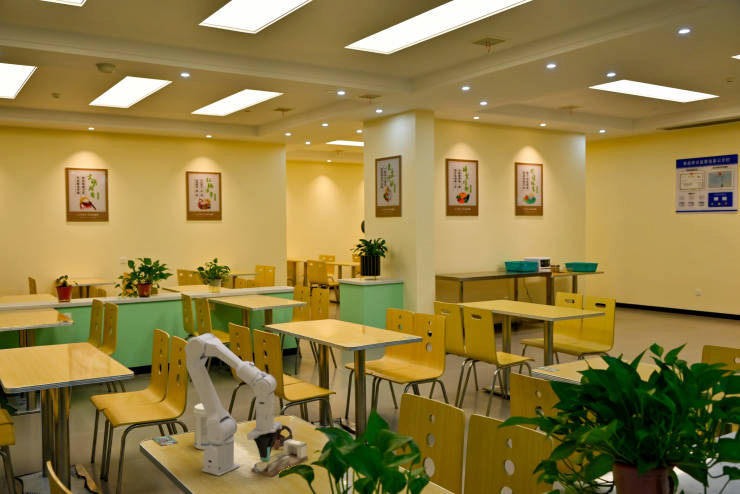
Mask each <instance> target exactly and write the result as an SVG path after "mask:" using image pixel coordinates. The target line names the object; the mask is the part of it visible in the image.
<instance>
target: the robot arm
mask: <svg viewBox="0 0 740 494" xmlns="http://www.w3.org/2000/svg"><path fill="white" fill-rule="evenodd" d="M184 352H185V354H186V356H185V367H186V369H187V370H186V371H188V375H189V376H190V379H191V381H192V383H193V385H194V388H195V390H196V393H197V395H198V397H199V399H200V402H201V403H202V405H203V407H204V410H205V412H206V414H207V421H206V427H207V436H208V439H209V440H210V441H211V443H210V445H209V446H207V447H206V448H205V450H203V457H202V458H203V468H202V469H201V472H204V473H209V474H211V475H215V476H222V475H224V474H226V473H229V472H231V471H233V470H235V469H237V468H240V464H237V463H235V438H234V437H235V436H234V435H235V434H236V433H237V430H238V423H237V422H236V420H235V419H234V418H233V417H232V416H231V414H230V412H229V411H228V410H226V409H224V407H223V404H222V403H221V400H220V398H219V396H218V394H217V391H216V389H215V386H214V384H213V381H212V379H211V376H210V375H209V372H208V370H207V368H206V366H205V365H206V362H207V360H208V358H209V357H216V358H217V359H220V360H221V361H223V362H224V363H225V364H227V365H228V366H230V367H231V368H232V369H233V370H235V373H236V376H237V377H238V378H239V379H240V380H242V381H243V382H245V383H246V384H247V385H249V387H251V388H252V391H253V393H254V394H255V428H253V429H252V430H251V431H249V432H247V433H246V435H247V436H246V437H247V438H246V439H247V440H248V441H254V443H255V444H256V446H257V447H256V448H257V450H258V453H259V458H260V457H262V458H266V456H267V447H268V446H270V455H271V453H272V449H273V447H274V444H275V442H274V441H275V439H276V437H277V433H275V432H276V430H277V429H282V425H283V423H282V422H280V421H276V422H275V390H276V389H277V385H278V382H277V380H276V378H275V377H274V376H273V375H272V374H270V373H269V374H267V373H266V372H265V371H262V370H260V369H259V368H258V367H256V366H255V363H254V361H248V360H245V361H243V360H242V359H241V358H239V356H238V355H235V353H234V352H233V351H231V350H230V349H229V348H228V347H227V346H226V345H225V344H224V343H222V341H221V340H220V338H218V337H216V336H215V335H214V334H213V333H211V332H207V333H203V334H201V335H198V336H194V337H191V338H189V339H188V340H187V342H186V344H185V346H184Z"/></svg>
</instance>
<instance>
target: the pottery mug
mask: <svg viewBox="0 0 740 494" xmlns="http://www.w3.org/2000/svg"><path fill="white" fill-rule="evenodd" d="M284 430H286V431H287V432H288V433H289V435H288V436H285V435H283V434H282V431H284ZM275 433H277V437H276V439H275V441H274V444H273V449H275V450H279V449H280V448H283V447H284V441H286V440H289V439H291V440H293V438H294V437H293V434H292V433H293V431H292V429H291V428H290V427H289V426H288V425H285V424H282V429H277V430H276V432H275Z"/></svg>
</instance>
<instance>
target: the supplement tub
mask: <svg viewBox="0 0 740 494" xmlns="http://www.w3.org/2000/svg"><path fill="white" fill-rule="evenodd" d="M193 421H194V422H193V427H194V431H193V432H194V434H193V435H194V437H193V438H194V447H195V449H198V450H200V451H204V450H205V448H206V447H207V446H209V445H210V443H211V441H210V440H209V439H208V436H207V427H206V421H207V414H206V412H205V410H204V407H203V405H202V402H201V403H197V404H195V405H194V409H193Z"/></svg>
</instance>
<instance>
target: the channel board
mask: <svg viewBox="0 0 740 494" xmlns="http://www.w3.org/2000/svg"><path fill="white" fill-rule="evenodd" d="M285 456H286V457H284V458H282V459H280V460H278V461H276V462H273V463H271V464H269V465H268V469H266V470H264V471H262V472H260V473H257V472H256V471H255V469H254V467H252V468H251V473H256V474H259V475H262V476H267V477H270V478H273V477H274V476H277V475H278V473H279V472H280V471H281V470H283V469H286V468H289V467H291V465H292V466H293V465H295V466H298V465H299V464H301V463H303V462H305V461H307V460H309V457H308V456H306V457H304V458H302V459H300V458H297V454H294V453H292V454H290V455H285ZM298 463H299V464H298ZM288 466H289V467H288ZM293 467H294V466H293ZM291 468H292V467H291ZM289 469H290V468H289ZM279 474H280V473H279Z"/></svg>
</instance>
